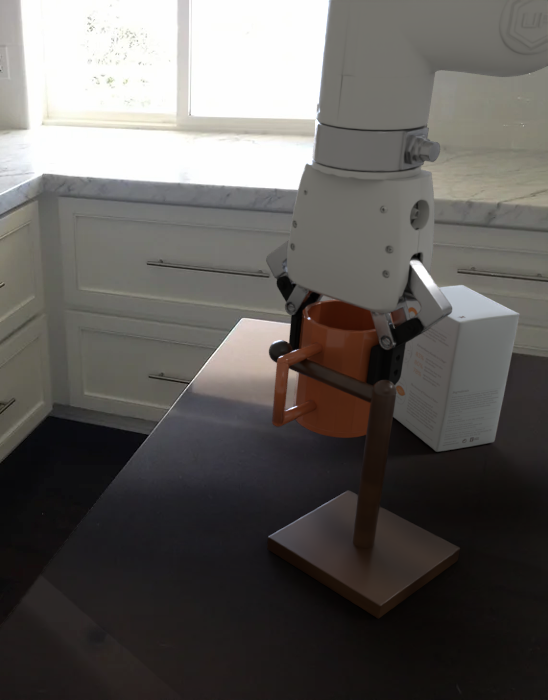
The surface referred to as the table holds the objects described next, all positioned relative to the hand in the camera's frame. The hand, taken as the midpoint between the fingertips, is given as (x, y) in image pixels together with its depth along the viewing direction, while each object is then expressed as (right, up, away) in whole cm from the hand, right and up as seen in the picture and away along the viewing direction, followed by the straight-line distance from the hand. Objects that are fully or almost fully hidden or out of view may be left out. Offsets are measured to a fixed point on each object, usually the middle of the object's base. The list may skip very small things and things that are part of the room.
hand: (340, 371), depth 69 cm
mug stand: (-1, -13, -1) cm, 13 cm away
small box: (+14, -6, +14) cm, 21 cm away
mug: (-2, -4, 0) cm, 5 cm away
